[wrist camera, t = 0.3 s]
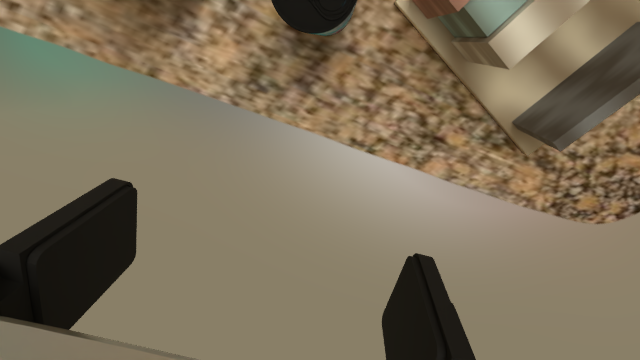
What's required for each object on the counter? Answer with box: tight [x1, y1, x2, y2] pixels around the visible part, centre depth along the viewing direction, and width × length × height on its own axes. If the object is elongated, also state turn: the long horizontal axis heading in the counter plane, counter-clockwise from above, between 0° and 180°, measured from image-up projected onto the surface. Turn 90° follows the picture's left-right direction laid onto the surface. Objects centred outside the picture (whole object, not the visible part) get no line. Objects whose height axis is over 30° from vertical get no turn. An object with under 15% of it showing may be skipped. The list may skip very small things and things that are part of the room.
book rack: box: [394, 0, 640, 156], centre depth 29 cm, size 16×23×11 cm
